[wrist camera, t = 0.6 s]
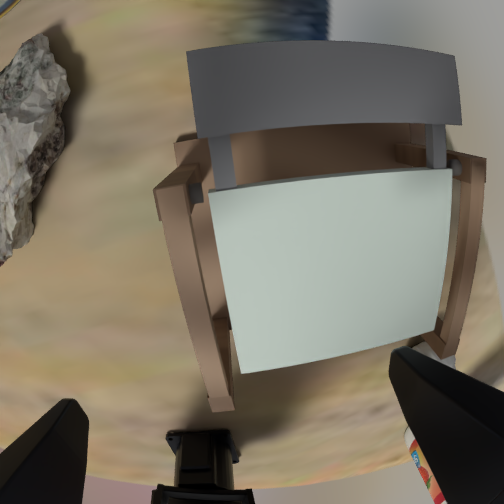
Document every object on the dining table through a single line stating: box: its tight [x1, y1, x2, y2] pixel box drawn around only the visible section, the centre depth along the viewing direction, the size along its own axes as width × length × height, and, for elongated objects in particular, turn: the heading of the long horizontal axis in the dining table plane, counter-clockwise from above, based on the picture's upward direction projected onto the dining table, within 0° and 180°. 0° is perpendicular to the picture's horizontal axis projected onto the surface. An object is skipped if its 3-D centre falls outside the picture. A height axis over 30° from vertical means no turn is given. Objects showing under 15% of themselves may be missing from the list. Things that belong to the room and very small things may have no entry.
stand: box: [153, 123, 486, 413], centre depth 17 cm, size 13×15×8 cm
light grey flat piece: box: [186, 40, 462, 374], centre depth 13 cm, size 14×11×2 cm
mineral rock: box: [0, 33, 70, 266], centre depth 15 cm, size 15×8×4 cm, turn 145°
